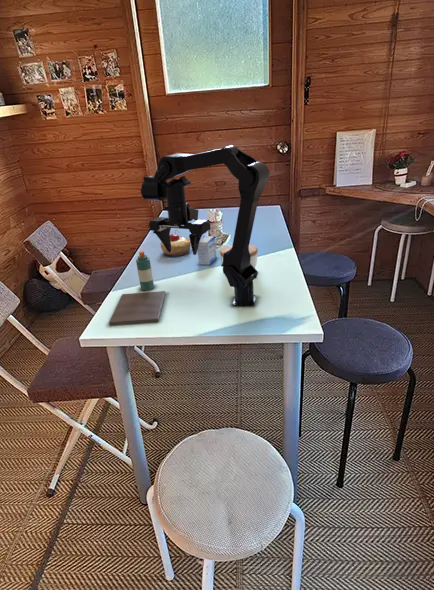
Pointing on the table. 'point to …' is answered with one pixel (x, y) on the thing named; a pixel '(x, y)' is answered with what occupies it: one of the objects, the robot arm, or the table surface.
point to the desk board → (138, 308)
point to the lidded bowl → (252, 251)
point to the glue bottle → (144, 272)
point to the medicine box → (206, 250)
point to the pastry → (177, 245)
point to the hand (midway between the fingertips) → (182, 253)
